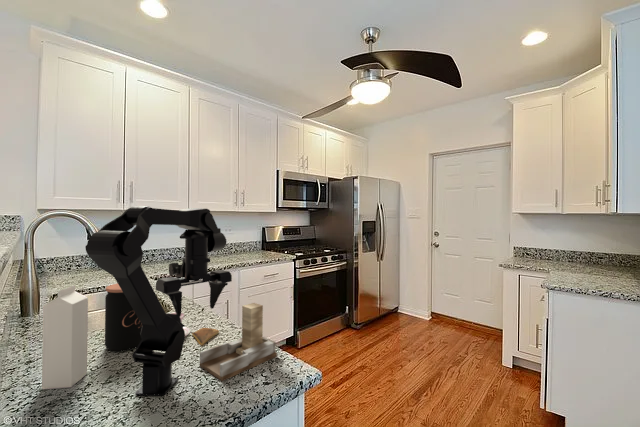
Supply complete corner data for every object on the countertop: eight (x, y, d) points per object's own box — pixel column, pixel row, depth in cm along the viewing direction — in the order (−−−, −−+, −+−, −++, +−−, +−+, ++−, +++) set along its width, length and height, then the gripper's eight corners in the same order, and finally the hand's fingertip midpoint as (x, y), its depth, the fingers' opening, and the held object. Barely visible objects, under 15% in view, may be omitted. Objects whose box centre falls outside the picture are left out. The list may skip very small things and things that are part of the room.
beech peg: (249, 359, 79) (249, 310, 79) (235, 352, 83) (236, 305, 84) (268, 351, 84) (268, 305, 84) (254, 345, 88) (254, 301, 88)
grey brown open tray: (221, 381, 71) (222, 365, 71) (199, 366, 78) (199, 351, 78) (276, 356, 83) (277, 342, 83) (253, 345, 91) (253, 332, 91)
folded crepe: (201, 348, 90) (201, 341, 90) (178, 345, 91) (178, 339, 91) (220, 334, 100) (220, 328, 100) (199, 332, 102) (199, 327, 102)
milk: (87, 374, 74) (89, 284, 74) (70, 388, 68) (73, 290, 68) (59, 375, 73) (61, 285, 73) (40, 390, 67) (43, 291, 67)
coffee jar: (122, 355, 84) (123, 290, 84) (95, 349, 87) (96, 287, 87) (154, 340, 94) (155, 282, 94) (129, 335, 97) (130, 280, 97)
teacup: (195, 335, 98) (196, 316, 98) (155, 345, 90) (155, 325, 90) (184, 325, 107) (184, 308, 107) (146, 333, 99) (146, 315, 99)
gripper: (213, 249, 93) (212, 299, 93) (147, 255, 79) (147, 314, 79) (233, 252, 86) (232, 306, 86) (165, 259, 72) (164, 324, 72)
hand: (195, 312), depth 81 cm, fingers open, 9 cm apart
